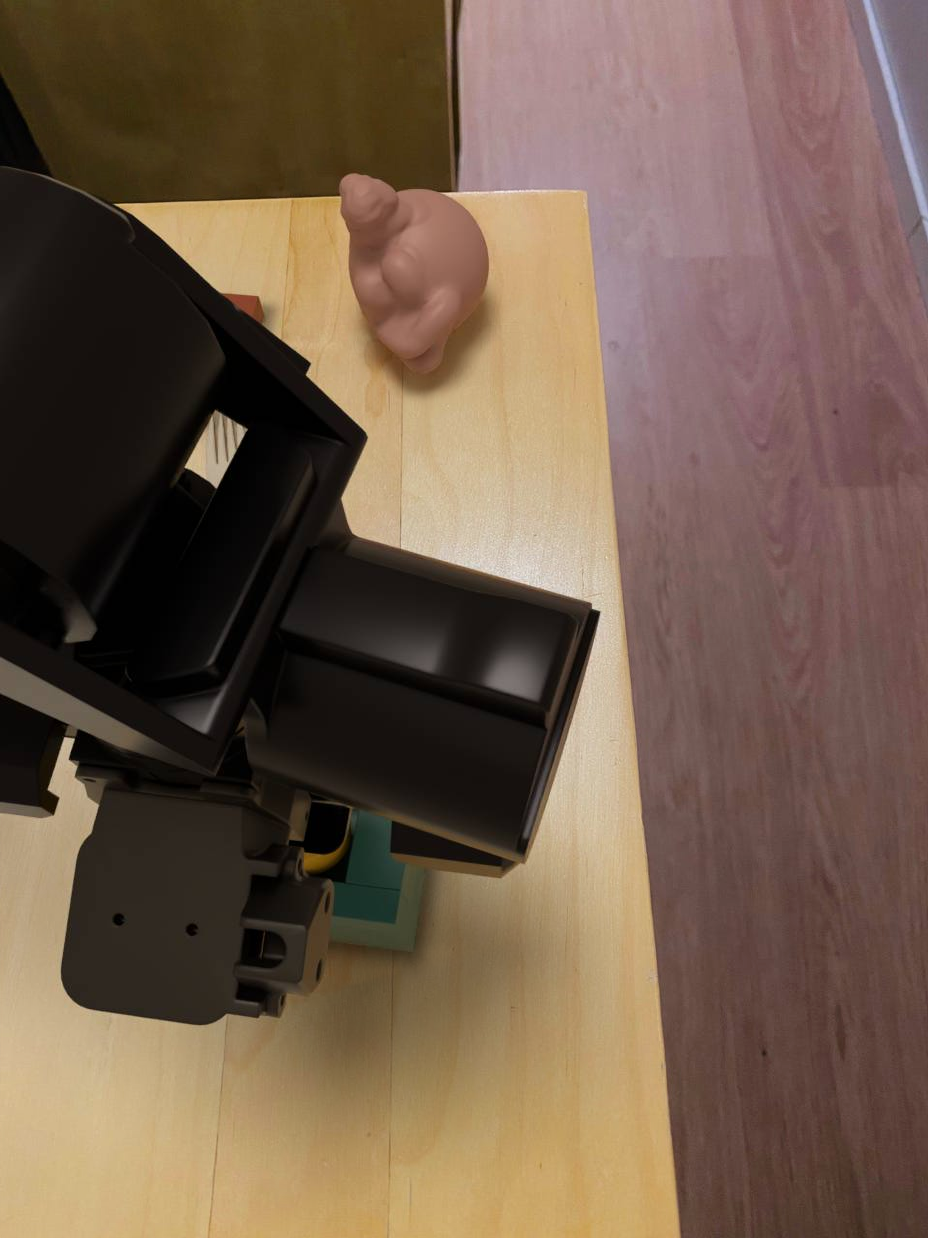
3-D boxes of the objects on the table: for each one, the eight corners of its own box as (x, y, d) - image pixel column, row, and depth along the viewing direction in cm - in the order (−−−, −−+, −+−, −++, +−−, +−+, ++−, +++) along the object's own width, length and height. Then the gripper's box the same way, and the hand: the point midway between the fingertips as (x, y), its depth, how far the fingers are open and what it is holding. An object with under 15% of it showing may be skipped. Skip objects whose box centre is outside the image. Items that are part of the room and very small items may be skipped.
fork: (256, 727, 57) (246, 716, 55) (203, 418, 64) (191, 394, 61) (304, 716, 57) (297, 705, 55) (246, 409, 64) (237, 385, 61)
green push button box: (238, 928, 50) (184, 896, 42) (268, 793, 53) (223, 737, 45) (413, 952, 50) (395, 925, 41) (434, 814, 52) (421, 762, 44)
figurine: (359, 399, 64) (331, 258, 53) (357, 269, 69) (330, 116, 58) (496, 389, 64) (496, 247, 53) (484, 260, 69) (482, 105, 58)
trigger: (262, 869, 43) (247, 855, 41) (280, 789, 45) (266, 771, 42) (343, 880, 43) (333, 867, 40) (358, 799, 45) (349, 781, 42)
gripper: (-304, 927, 23) (2, 987, 37) (500, 1044, 21) (499, 1060, 35) (-122, 513, 28) (89, 707, 42) (550, 584, 26) (532, 760, 40)
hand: (291, 806), depth 40 cm, fingers closed
